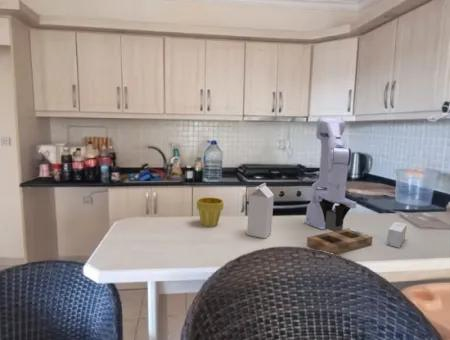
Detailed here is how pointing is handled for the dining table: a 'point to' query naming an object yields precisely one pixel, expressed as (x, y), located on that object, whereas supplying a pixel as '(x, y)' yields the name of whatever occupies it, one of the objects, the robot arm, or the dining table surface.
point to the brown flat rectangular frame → (339, 241)
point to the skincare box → (396, 234)
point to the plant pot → (209, 210)
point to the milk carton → (260, 212)
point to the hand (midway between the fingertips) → (332, 223)
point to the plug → (332, 221)
